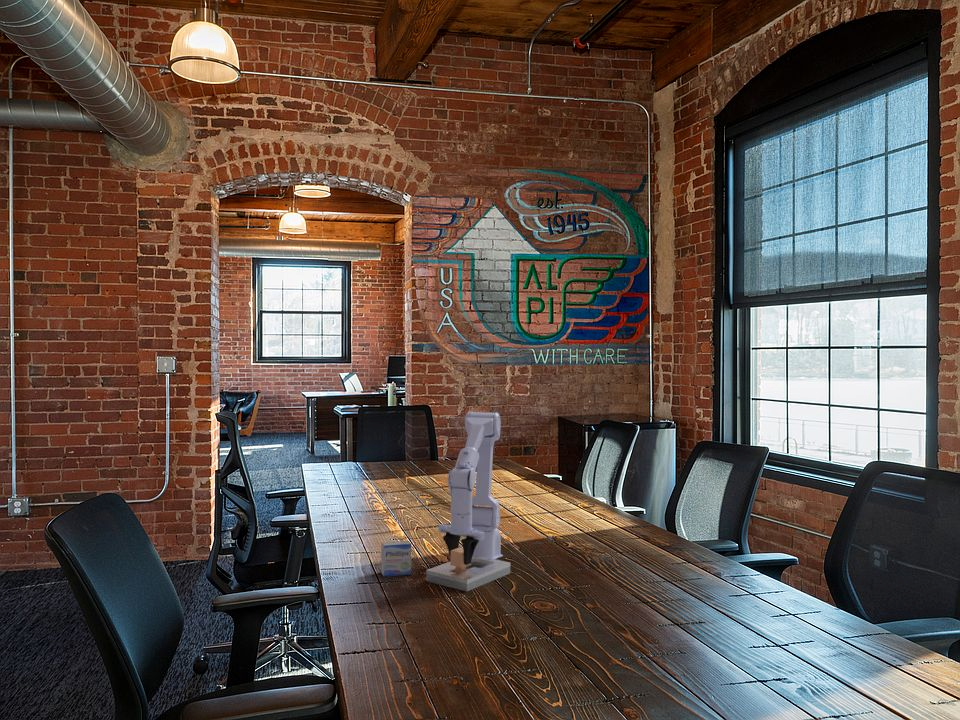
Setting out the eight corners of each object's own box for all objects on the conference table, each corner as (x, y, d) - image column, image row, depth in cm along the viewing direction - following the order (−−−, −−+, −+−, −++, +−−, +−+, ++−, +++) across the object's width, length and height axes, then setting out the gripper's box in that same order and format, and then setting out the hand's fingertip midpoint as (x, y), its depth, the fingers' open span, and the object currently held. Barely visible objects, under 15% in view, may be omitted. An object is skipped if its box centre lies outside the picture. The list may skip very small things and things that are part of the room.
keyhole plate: (470, 564, 219) (470, 554, 219) (510, 573, 211) (510, 562, 211) (426, 581, 203) (426, 570, 203) (467, 591, 195) (467, 580, 195)
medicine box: (383, 577, 206) (383, 545, 206) (380, 572, 211) (381, 541, 211) (411, 575, 209) (411, 544, 208) (408, 570, 213) (408, 539, 213)
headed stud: (458, 575, 207) (459, 546, 207) (473, 579, 204) (473, 549, 204) (447, 579, 203) (448, 550, 203) (462, 583, 200) (462, 553, 200)
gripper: (431, 511, 205) (430, 560, 205) (473, 519, 196) (473, 570, 196) (447, 507, 210) (447, 555, 211) (489, 514, 202) (489, 564, 202)
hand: (460, 562), depth 204 cm, fingers closed on headed stud, 4 cm apart
